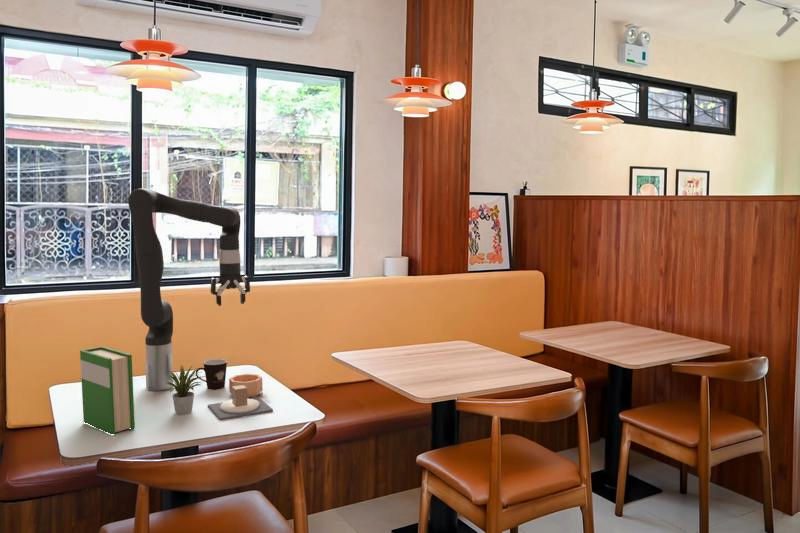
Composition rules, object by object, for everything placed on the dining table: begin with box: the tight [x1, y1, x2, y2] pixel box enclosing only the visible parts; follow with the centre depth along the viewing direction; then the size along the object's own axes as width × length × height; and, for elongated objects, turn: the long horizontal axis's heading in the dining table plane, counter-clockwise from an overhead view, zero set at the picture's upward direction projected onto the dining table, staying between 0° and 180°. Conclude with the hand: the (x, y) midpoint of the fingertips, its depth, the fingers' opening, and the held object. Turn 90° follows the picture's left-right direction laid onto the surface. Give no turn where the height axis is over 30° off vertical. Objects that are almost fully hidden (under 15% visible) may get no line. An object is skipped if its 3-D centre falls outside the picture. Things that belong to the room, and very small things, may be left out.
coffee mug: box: [195, 358, 228, 391], centre depth 252 cm, size 12×9×10 cm
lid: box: [220, 385, 259, 413], centre depth 227 cm, size 13×13×7 cm
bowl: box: [228, 373, 264, 399], centre depth 244 cm, size 11×11×6 cm
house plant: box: [165, 365, 206, 416], centre depth 222 cm, size 14×14×16 cm
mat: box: [207, 396, 274, 421], centre depth 227 cm, size 18×16×1 cm
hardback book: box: [79, 345, 136, 435], centre depth 209 cm, size 18×7×24 cm, turn 52°
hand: (230, 304), depth 249 cm, fingers open, 8 cm apart
